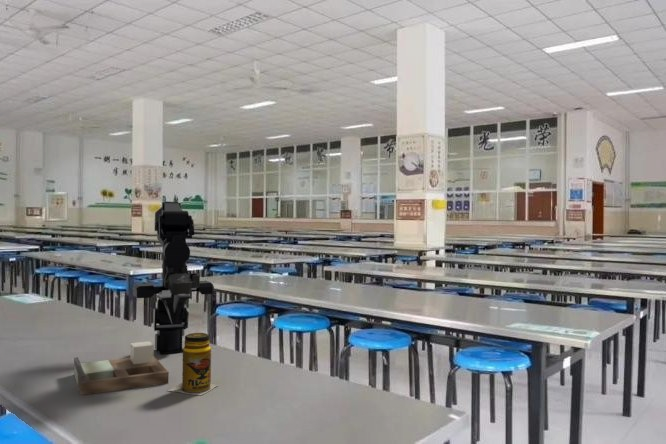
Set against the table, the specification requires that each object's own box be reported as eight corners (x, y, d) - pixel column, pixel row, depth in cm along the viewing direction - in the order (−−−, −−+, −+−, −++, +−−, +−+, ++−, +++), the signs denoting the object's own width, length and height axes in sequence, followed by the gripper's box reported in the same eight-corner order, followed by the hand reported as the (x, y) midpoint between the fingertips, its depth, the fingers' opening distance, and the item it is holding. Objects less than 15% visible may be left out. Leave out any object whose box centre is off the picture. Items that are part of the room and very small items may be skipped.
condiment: (201, 396, 115) (202, 339, 115) (167, 391, 117) (167, 336, 117) (218, 385, 122) (219, 332, 122) (185, 381, 124) (186, 329, 124)
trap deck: (152, 365, 137) (153, 349, 137) (168, 383, 123) (168, 365, 123) (74, 374, 128) (74, 357, 127) (81, 395, 114) (81, 376, 114)
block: (149, 357, 134) (149, 341, 134) (153, 361, 131) (153, 345, 130) (130, 359, 132) (130, 343, 132) (133, 364, 128) (134, 347, 128)
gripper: (141, 265, 123) (140, 333, 123) (221, 263, 132) (220, 326, 133) (132, 261, 133) (131, 324, 133) (207, 259, 142) (206, 318, 142)
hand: (173, 323), depth 135 cm, fingers closed
